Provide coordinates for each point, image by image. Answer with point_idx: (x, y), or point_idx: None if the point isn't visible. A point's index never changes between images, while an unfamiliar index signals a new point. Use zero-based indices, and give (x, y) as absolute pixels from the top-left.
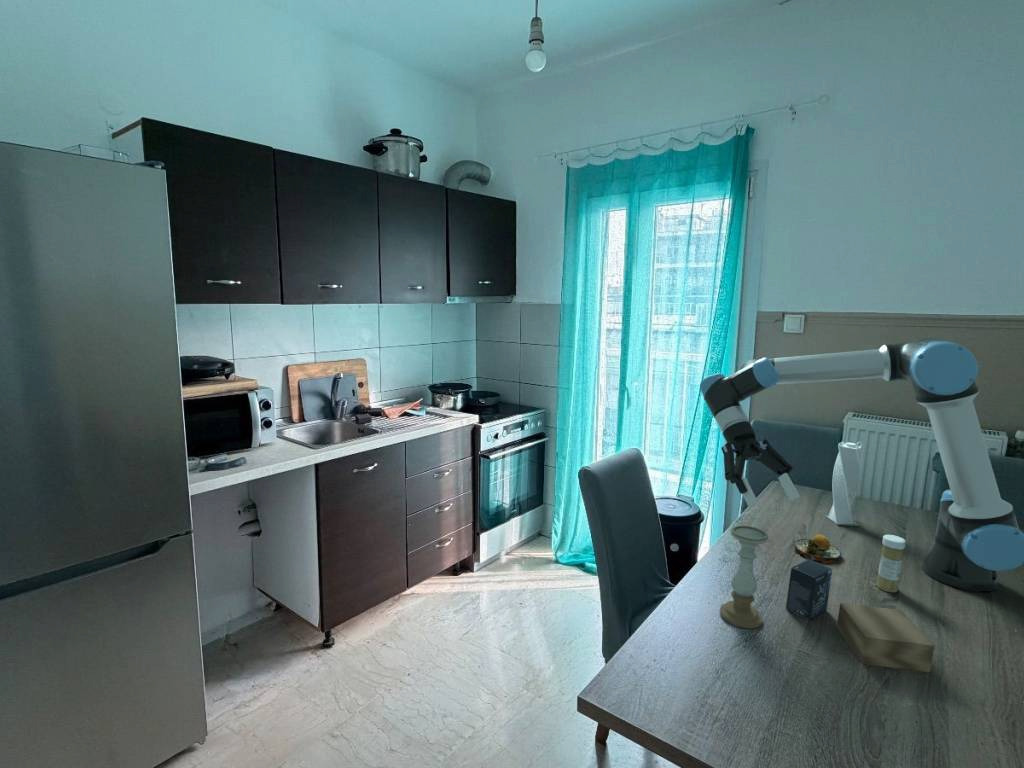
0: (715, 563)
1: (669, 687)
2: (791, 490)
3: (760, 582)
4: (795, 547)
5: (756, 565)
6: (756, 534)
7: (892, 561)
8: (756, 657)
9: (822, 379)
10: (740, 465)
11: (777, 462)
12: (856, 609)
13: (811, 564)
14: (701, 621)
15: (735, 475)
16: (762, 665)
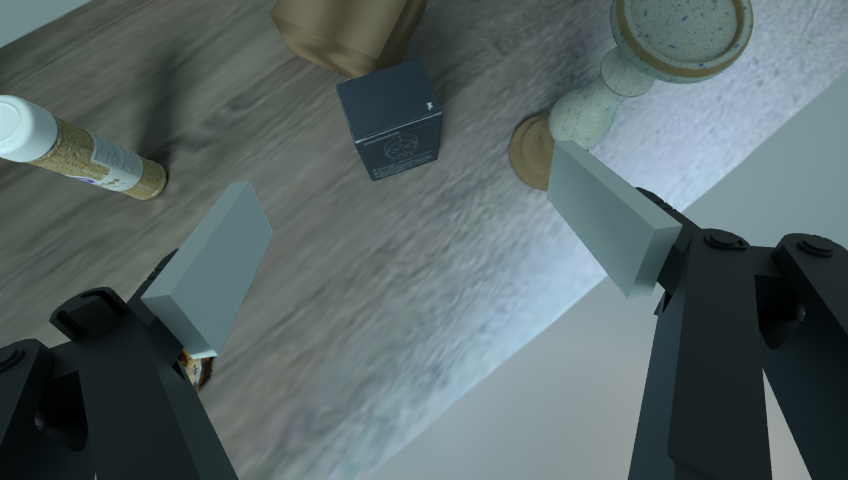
0: (468, 364)
1: (760, 27)
2: (240, 226)
3: (416, 260)
4: (200, 385)
5: (369, 334)
6: (658, 3)
7: (92, 134)
8: (588, 54)
9: None
10: (745, 338)
11: (106, 418)
12: (363, 33)
13: (375, 111)
14: (629, 158)
15: (753, 263)
16: (590, 37)
